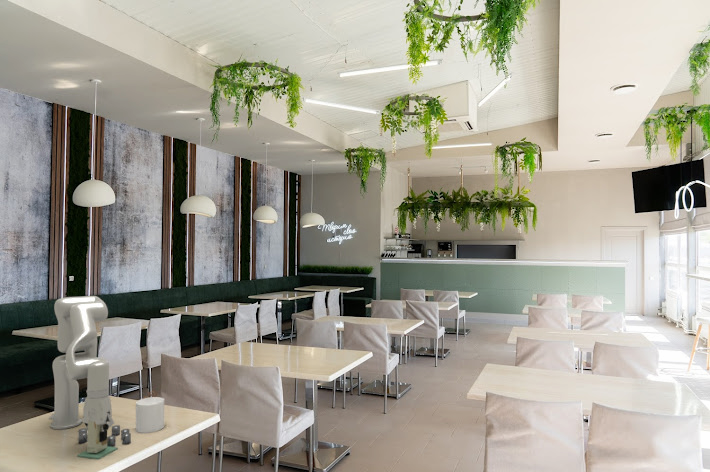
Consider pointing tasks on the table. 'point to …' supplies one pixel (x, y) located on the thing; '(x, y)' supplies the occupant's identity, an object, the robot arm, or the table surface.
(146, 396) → the brown wooden carved piece
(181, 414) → the table surface
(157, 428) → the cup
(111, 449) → the coaster
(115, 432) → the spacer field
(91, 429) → the skincare box
